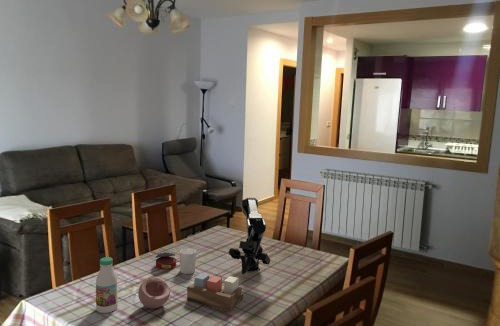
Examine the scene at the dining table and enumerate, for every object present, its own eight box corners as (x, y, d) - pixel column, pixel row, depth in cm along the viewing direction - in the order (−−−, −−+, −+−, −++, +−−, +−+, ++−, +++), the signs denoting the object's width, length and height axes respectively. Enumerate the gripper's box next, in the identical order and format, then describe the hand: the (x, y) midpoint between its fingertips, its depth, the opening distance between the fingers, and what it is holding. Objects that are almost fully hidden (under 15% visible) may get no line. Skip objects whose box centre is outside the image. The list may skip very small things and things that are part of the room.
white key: (229, 293, 167) (229, 276, 166) (238, 295, 165) (238, 278, 164) (223, 298, 163) (224, 280, 161) (232, 300, 161) (233, 282, 160)
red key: (213, 293, 167) (213, 275, 166) (221, 295, 165) (222, 277, 164) (206, 298, 162) (207, 280, 161) (215, 300, 160) (216, 282, 159)
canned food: (155, 277, 195) (146, 258, 194) (167, 267, 204) (158, 250, 203) (173, 271, 190) (163, 252, 189) (184, 261, 199) (175, 243, 198)
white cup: (192, 275, 187) (193, 254, 186) (176, 273, 188) (177, 253, 187) (198, 268, 195) (198, 249, 193) (182, 267, 196) (183, 247, 195)
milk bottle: (99, 303, 158) (98, 255, 155) (119, 303, 158) (119, 255, 156) (93, 314, 150) (92, 263, 147) (114, 313, 151) (114, 263, 148)
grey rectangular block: (200, 289, 169) (200, 272, 168) (208, 292, 167) (209, 274, 166) (194, 294, 165) (194, 277, 163) (202, 296, 163) (203, 279, 162)
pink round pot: (154, 317, 149) (154, 288, 147) (131, 308, 155) (131, 280, 154) (176, 305, 159) (176, 277, 157) (154, 296, 165) (154, 270, 164)
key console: (203, 288, 174) (203, 275, 173) (242, 298, 166) (243, 284, 166) (187, 300, 163) (187, 286, 162) (229, 312, 155) (229, 297, 154)
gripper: (229, 230, 181) (217, 262, 172) (267, 235, 172) (255, 269, 164) (238, 242, 189) (227, 273, 180) (275, 248, 180) (264, 280, 171)
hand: (242, 273), depth 174 cm, fingers closed
